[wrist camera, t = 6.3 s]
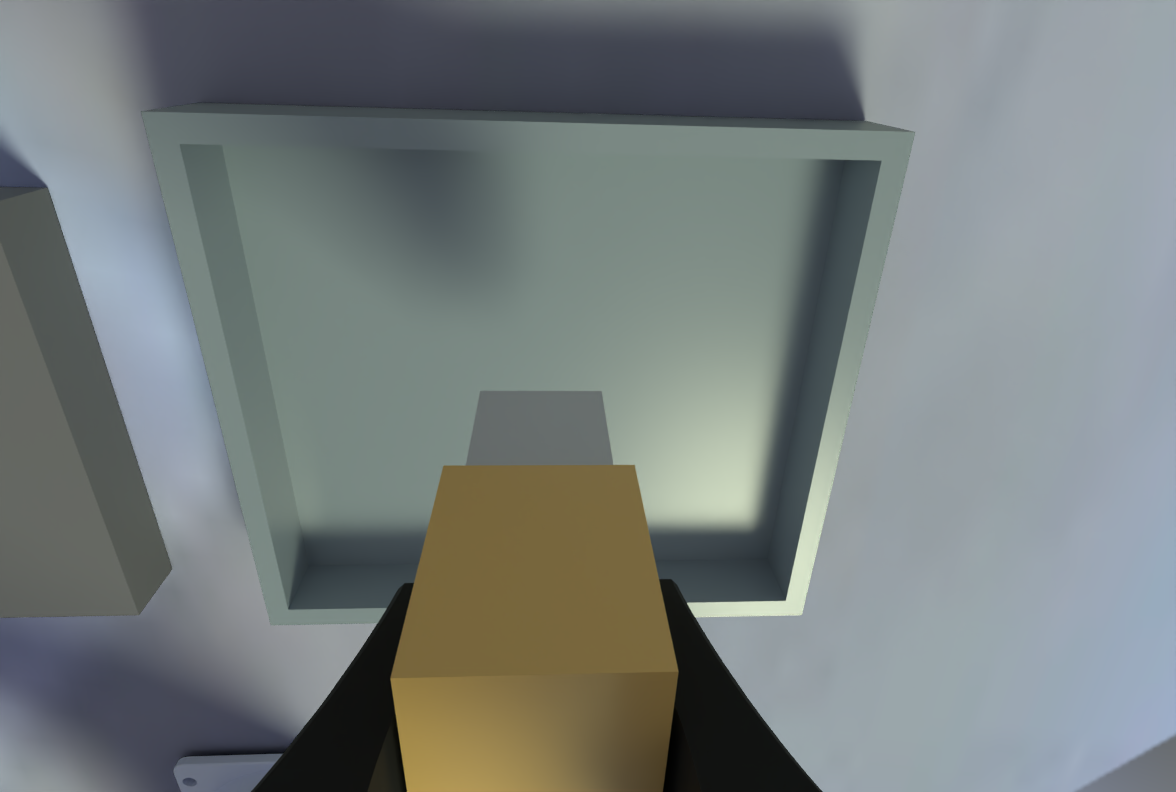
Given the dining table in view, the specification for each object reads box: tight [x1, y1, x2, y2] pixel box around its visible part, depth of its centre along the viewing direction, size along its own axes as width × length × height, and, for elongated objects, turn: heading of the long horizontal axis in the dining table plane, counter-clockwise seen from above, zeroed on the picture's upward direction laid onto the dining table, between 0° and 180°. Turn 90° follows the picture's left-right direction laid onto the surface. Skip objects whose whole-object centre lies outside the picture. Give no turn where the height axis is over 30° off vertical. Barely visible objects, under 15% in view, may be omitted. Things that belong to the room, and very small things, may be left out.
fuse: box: [390, 391, 679, 792], centre depth 11 cm, size 4×3×7 cm
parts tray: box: [141, 103, 915, 625], centre depth 18 cm, size 14×16×2 cm
